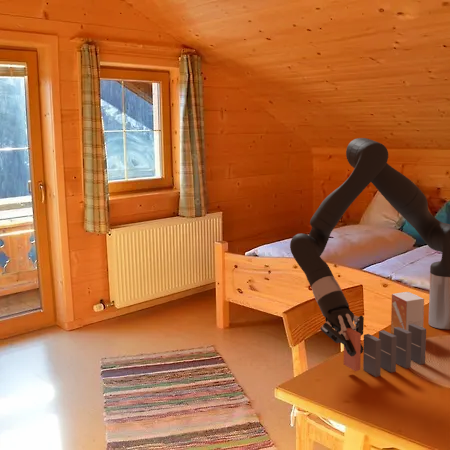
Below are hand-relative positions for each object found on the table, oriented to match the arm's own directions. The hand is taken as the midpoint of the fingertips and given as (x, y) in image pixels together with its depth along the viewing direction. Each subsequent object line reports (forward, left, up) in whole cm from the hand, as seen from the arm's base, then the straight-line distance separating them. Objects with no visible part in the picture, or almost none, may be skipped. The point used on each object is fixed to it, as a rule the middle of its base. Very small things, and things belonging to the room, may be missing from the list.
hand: (357, 354), depth 150 cm
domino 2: (-3, +4, -7) cm, 8 cm away
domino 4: (-8, +13, -7) cm, 17 cm away
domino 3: (-6, +9, -7) cm, 12 cm away
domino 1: (-2, -1, -4) cm, 5 cm away
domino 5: (-11, +18, -7) cm, 22 cm away
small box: (-29, +19, -7) cm, 36 cm away
